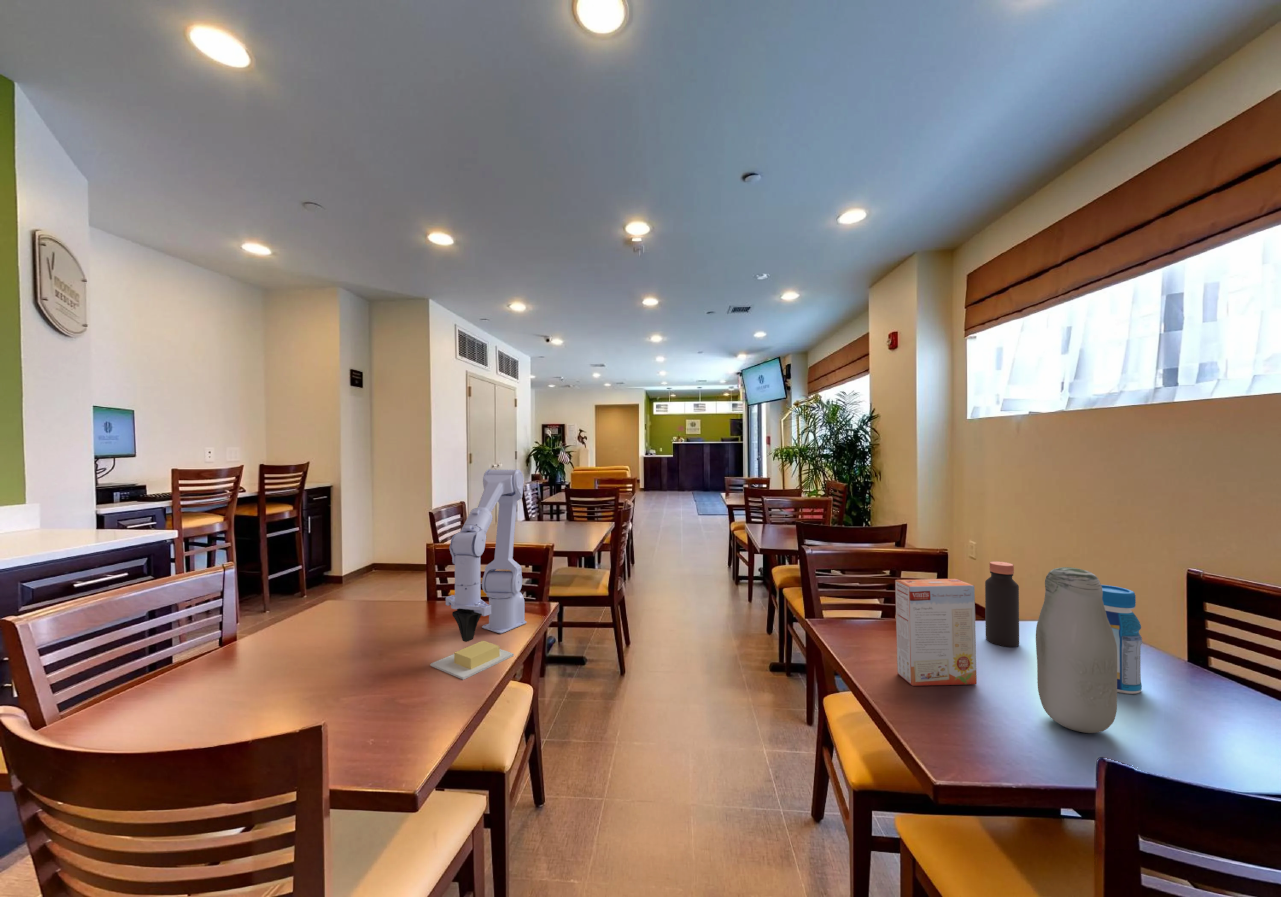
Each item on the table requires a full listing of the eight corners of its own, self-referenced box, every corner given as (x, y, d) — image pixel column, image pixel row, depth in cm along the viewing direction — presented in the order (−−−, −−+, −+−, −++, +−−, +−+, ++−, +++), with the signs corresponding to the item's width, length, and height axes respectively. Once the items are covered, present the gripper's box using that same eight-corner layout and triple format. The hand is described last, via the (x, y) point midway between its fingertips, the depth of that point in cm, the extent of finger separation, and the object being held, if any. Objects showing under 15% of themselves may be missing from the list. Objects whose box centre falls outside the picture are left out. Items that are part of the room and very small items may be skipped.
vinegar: (1026, 647, 115) (1025, 566, 115) (998, 647, 115) (997, 566, 115) (1005, 636, 122) (1004, 560, 122) (979, 636, 122) (978, 560, 122)
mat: (481, 644, 118) (481, 642, 118) (513, 655, 112) (513, 653, 112) (430, 665, 106) (430, 663, 106) (463, 679, 100) (463, 677, 100)
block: (483, 640, 114) (499, 646, 110) (483, 650, 114) (499, 656, 110) (454, 652, 107) (470, 658, 104) (454, 662, 107) (470, 669, 104)
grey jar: (1074, 710, 87) (1072, 561, 87) (1134, 744, 77) (1132, 575, 77) (1023, 711, 87) (1021, 561, 87) (1076, 746, 77) (1074, 576, 77)
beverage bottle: (1150, 699, 91) (1149, 597, 91) (1091, 688, 95) (1090, 590, 95) (1133, 681, 98) (1132, 586, 98) (1079, 671, 102) (1078, 581, 103)
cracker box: (957, 672, 102) (956, 577, 103) (978, 686, 96) (977, 585, 97) (894, 673, 102) (894, 577, 102) (911, 686, 96) (910, 585, 96)
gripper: (434, 582, 111) (434, 639, 111) (472, 591, 103) (473, 653, 103) (460, 575, 117) (460, 629, 117) (498, 584, 109) (498, 642, 109)
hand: (467, 640), depth 110 cm, fingers closed
